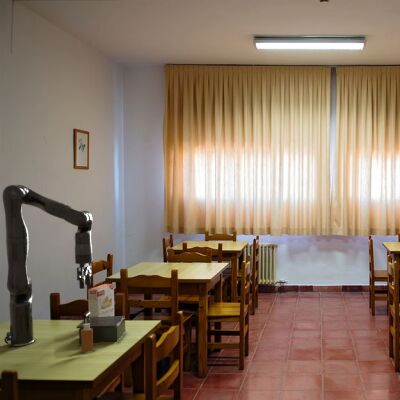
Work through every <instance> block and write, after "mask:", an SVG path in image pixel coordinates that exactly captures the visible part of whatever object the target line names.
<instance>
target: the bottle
mask: <svg viewBox="0 0 400 400" xmlns="http://www.w3.org/2000/svg"><path fill="white" fill-rule="evenodd" d="M81 339H82V344H81V351H82V352H85V353H88V352H91V351H93V350H94V343H93V330H92V328H90V324H89V323H87V324H84V329H82V330H81Z"/></svg>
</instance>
